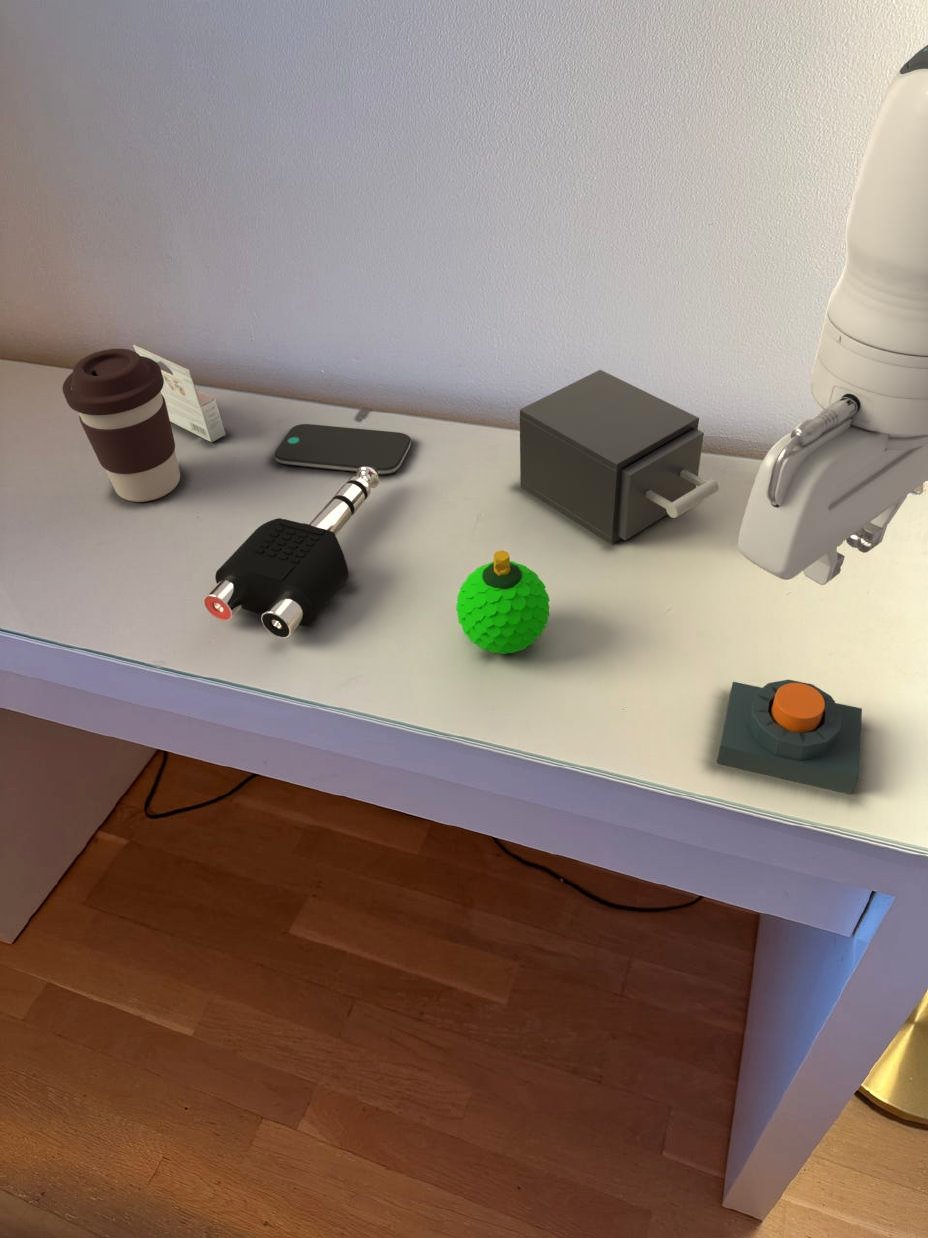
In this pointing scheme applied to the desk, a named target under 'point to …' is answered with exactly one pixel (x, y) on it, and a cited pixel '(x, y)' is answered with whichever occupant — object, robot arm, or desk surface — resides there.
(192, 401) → the ink box
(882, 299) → the robot arm
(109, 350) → the coffee cup
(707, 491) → the drawer
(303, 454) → the smartphone
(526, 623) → the ornament
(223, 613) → the audio adapter
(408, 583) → the desk surface
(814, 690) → the button
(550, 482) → the small drawer cabinet
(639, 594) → the desk surface
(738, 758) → the control block
